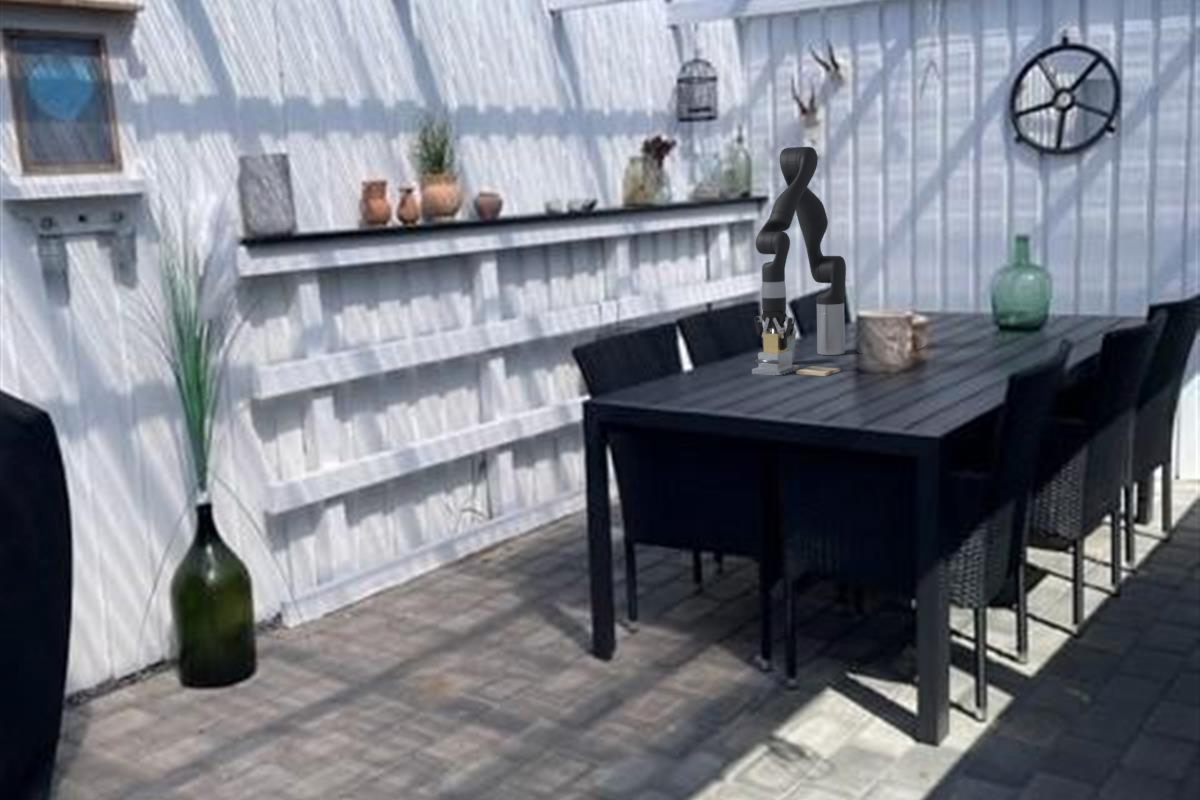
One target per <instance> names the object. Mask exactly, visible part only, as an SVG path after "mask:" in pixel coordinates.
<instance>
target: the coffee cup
mask: <svg viewBox="0 0 1200 800" xmlns="http://www.w3.org/2000/svg"><path fill="white" fill-rule="evenodd" d="M785 327H786V328H787V325H785ZM796 336H797V329H796V326H794V329H793V335H792V336H789V337H787V348H786V350H792V363H793V364H794V358H795V357H794V356H795V349H796V347H795V345H796V338H797V337H796Z"/></svg>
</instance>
